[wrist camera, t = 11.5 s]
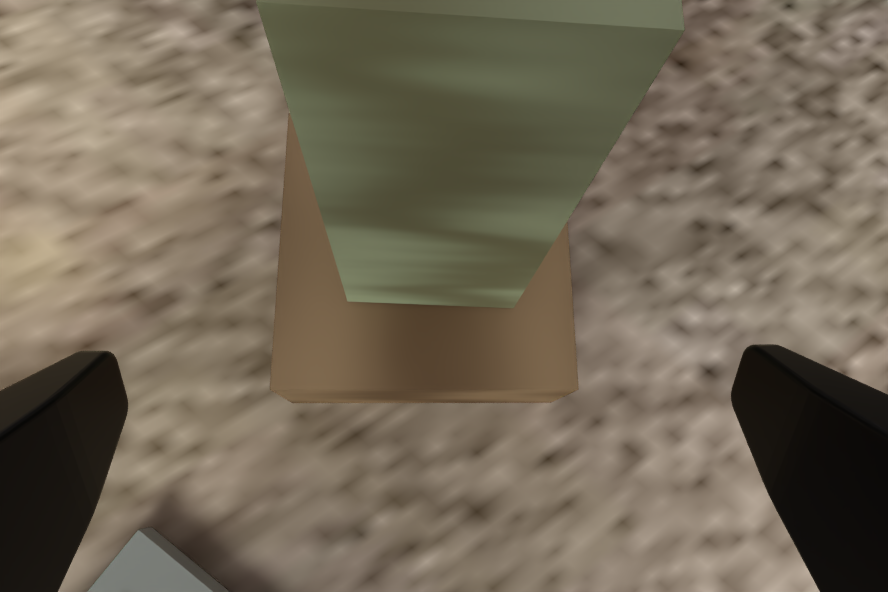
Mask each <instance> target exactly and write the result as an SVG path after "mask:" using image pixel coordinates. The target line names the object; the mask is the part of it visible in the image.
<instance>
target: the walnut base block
mask: <svg viewBox="0 0 888 592" xmlns="http://www.w3.org/2000/svg"><path fill="white" fill-rule="evenodd" d="M270 390H271V391H273V392H275V393H277V394H278V395H280V396H282V397H283V398H285V399H287V400H288V401H290V402H292V403H543V402H553V401H555V400H557V399H559V398H561V397H564V396H566V395H568V394H570V393H572V392H574V391H576V390H578V374H577V359H576V344H575V329H574V314H573V299H572V284H571V269H570V254H569V239H568V224H567V222H566V224H565V225H564V227H563V229H562V230H561V232H560V234H559V235H558V237H557V238H556V240H555V242H554V243H553V245H552V247H551V248H550V250H549V251H548V253H547V255H546V256H545V258H544V260H543V261H542V263H541V264H540V266H539V268H538V269H537V271H536V273H535V274H534V276H533V277H532V279H531V281H530V282H529V284H528V286H527V287H526V289H525V290H524V292H523V294H522V295H521V297H520V299H519V300H518V302H517V303H516V305H515V307H514V308H494V307H470V306H446V305H421V304H397V303H373V302H349V301H347V298H346V295H345V291H344V288H343V285H342V282H341V278H340V275H339V272H338V268H337V265H336V262H335V259H334V255H333V252H332V249H331V245H330V242H329V239H328V236H327V232H326V229H325V226H324V223H323V219H322V216H321V213H320V209H319V206H318V203H317V200H316V196H315V193H314V190H313V186H312V183H311V180H310V177H309V173H308V170H307V167H306V163H305V160H304V157H303V154H302V150H301V147H300V144H299V141H298V137H297V134H296V131H295V127H294V124H293V121H292V118H291V114H290V113H289V116H288V131H287V146H286V160H285V175H284V189H283V204H282V219H281V233H280V248H279V262H278V277H277V292H276V306H275V321H274V335H273V350H272V364H271V379H270Z"/></svg>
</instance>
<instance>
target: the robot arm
mask: <svg viewBox="0 0 888 592" xmlns="http://www.w3.org/2000/svg"><path fill="white" fill-rule="evenodd" d="M731 401H732V406H733V409H734V411H735V414H736V416H737V419H738V421H739V424H740V426H741V428H742V431H743V433H744V436H745V438H746V441H747V443H748V446H749V448H750V451H751V453H752V456H753V458H754V461H755V463H756V466H757V468H758V471H759V473H760V476H761V478H762V481H763V483H764V485H765V487H766V490H767V492H768V494H769V496H770V498H771V500H772V502H773V504H774V506H775V508H776V510H777V512H778V514H779V516H780V518H781V520H782V522H783V523H784V525H785V527H786V529H787V531H788V533H789V535H790V537H791V538H792V540H793V542H794V544H795V546H796V548H797V550H798V552H799V553H800V555H801V557H802V559H803V561H804V563H805V565H806V566H807V568H808V570H809V572H810V574H811V576H812V578H813V580H814V581H815V583H816V585H817V587H818V589H819V591H820V592H888V394H885V393H883V392H881V391H879V390H877V389H874V388H872V387H870V386H868V385H866V384H863V383H861V382H859V381H857V380H855V379H852V378H850V377H848V376H846V375H844V374H841V373H839V372H837V371H835V370H833V369H830V368H828V367H826V366H824V365H822V364H819V363H817V362H815V361H813V360H811V359H808V358H806V357H804V356H802V355H799V354H797V353H795V352H793V351H791V350H788V349H786V348H784V347H782V346H779V345H774V344H767V345H751V346H749V347H747V348H746V349H745V351H744V352H743V355H742V358H741V361H740V364H739V368H738V371H737V374H736V377H735V380H734V384H733V387H732V391H731ZM127 412H128V399H127V395H126V391H125V387H124V384H123V380H122V376H121V373H120V369H119V366H118V362H117V359H116V357H115V356H114V354H112V353H111V352H109V351H80V352H77V353H75V354H73V355H71V356H69V357H67V358H65V359H63V360H61V361H59V362H57V363H55V364H53V365H51V366H49V367H47V368H45V369H43V370H41V371H39V372H37V373H35V374H33V375H31V376H29V377H27V378H25V379H23V380H21V381H19V382H17V383H15V384H13V385H11V386H9V387H7V388H5V389H3V390H1V391H0V592H58V590H59V588H60V586H61V584H62V581H63V579H64V577H65V575H66V573H67V571H68V569H69V566H70V564H71V562H72V560H73V558H74V556H75V554H76V551H77V549H78V547H79V545H80V543H81V541H82V538H83V536H84V534H85V532H86V530H87V528H88V525H89V523H90V521H91V518H92V516H93V514H94V511H95V509H96V506H97V503H98V501H99V498H100V495H101V492H102V489H103V486H104V483H105V480H106V477H107V474H108V471H109V468H110V465H111V462H112V459H113V456H114V453H115V450H116V447H117V444H118V441H119V438H120V435H121V432H122V429H123V426H124V423H125V420H126V416H127Z"/></svg>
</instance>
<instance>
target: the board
mask: <svg viewBox="0 0 888 592" xmlns="http://www.w3.org/2000/svg"><path fill="white" fill-rule="evenodd" d="M87 592H229V591H228V590H227V589H226V588H225V587H223V586H222V585H221V584H220V583H218V582H217V581H216V580H215V579H214V578H212V577H211V576H210V575H209V574H208V573H206V572H205V571H204V570H203V569H202V568H200V567H199V566H198V565H197V564H196V563H194V562H193V561H192V560H191V559H189V558H188V557H187V556H186V555H185V554H183V553H182V552H181V551H180V550H179V549H177V548H176V547H175V546H174V545H173V544H171V543H170V542H169V541H168V540H167V539H165V538H164V537H163V536H162V535H160V534H159V533H158V532H157V531H156V530H154V529H153V528H152V527H149V528H144V529H139V530H138V531H137V532H136V533H135V534H134V536H133V537H132V538H131V539H130V540H129V542H128V543H127V544H126V545H125V547H124V548H123V549H122V550H121V551H120V553H119V554H118V555H117V556H116V557H115V559H114V560H113V561H112V562H111V563H110V565H109V566H108V567H107V568H106V570H105V571H104V572H103V573H102V574H101V576H100V577H99V578H98V579H97V580H96V582H95V583H94V584H93V585H92V587H91V588H90V589H89V590H88V591H87Z"/></svg>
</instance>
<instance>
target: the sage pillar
mask: <svg viewBox="0 0 888 592" xmlns="http://www.w3.org/2000/svg"><path fill="white" fill-rule="evenodd" d="M256 3H257V6H258V9H259V13H260V16H261V19H262V22H263V26H264V29H265V32H266V36H267V39H268V42H269V45H270V49H271V52H272V55H273V59H274V62H275V65H276V68H277V72H278V75H279V78H280V82H281V85H282V88H283V91H284V95H285V98H286V101H287V104H288V108H289V111H290V114H291V118H292V121H293V124H294V127H295V131H296V134H297V137H298V141H299V144H300V147H301V150H302V154H303V157H304V160H305V163H306V167H307V170H308V173H309V177H310V180H311V183H312V186H313V190H314V193H315V196H316V200H317V203H318V206H319V209H320V213H321V216H322V219H323V223H324V226H325V229H326V232H327V236H328V239H329V242H330V245H331V249H332V252H333V255H334V259H335V262H336V265H337V268H338V272H339V275H340V278H341V282H342V285H343V288H344V291H345V295H346V298H347V301H349V302H373V303H397V304H421V305H446V306H470V307H494V308H514V307H515V305H516V303H517V302H518V300H519V299H520V297H521V295H522V294H523V292H524V290H525V289H526V287H527V286H528V284H529V282H530V281H531V279H532V277H533V276H534V274H535V273H536V271H537V269H538V268H539V266H540V264H541V263H542V261H543V260H544V258H545V256H546V255H547V253H548V251H549V250H550V248H551V247H552V245H553V243H554V242H555V240H556V238H557V237H558V235H559V234H560V232H561V230H562V229H563V227H564V225H565V224H566V222H567V221H568V219H569V217H570V216H571V214H572V212H573V211H574V209H575V208H576V206H577V204H578V203H579V201H580V199H581V198H582V196H583V195H584V193H585V191H586V190H587V188H588V186H589V185H590V183H591V182H592V180H593V178H594V177H595V175H596V173H597V172H598V170H599V169H600V167H601V165H602V164H603V162H604V160H605V159H606V157H607V156H608V154H609V152H610V151H611V149H612V147H613V146H614V144H615V143H616V141H617V139H618V138H619V136H620V134H621V133H622V131H623V130H624V128H625V126H626V125H627V123H628V121H629V120H630V118H631V117H632V115H633V113H634V112H635V110H636V108H637V107H638V105H639V104H640V102H641V100H642V99H643V97H644V95H645V94H646V92H647V91H648V89H649V87H650V86H651V84H652V82H653V81H654V79H655V78H656V76H657V74H658V73H659V71H660V69H661V68H662V66H663V65H664V63H665V61H666V60H667V58H668V56H669V55H670V53H671V52H672V50H673V48H674V47H675V45H676V43H677V42H678V40H679V39H680V37H681V35H682V34H683V32H684V30H685V28H684V18H683V9H682V0H256Z"/></svg>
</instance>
